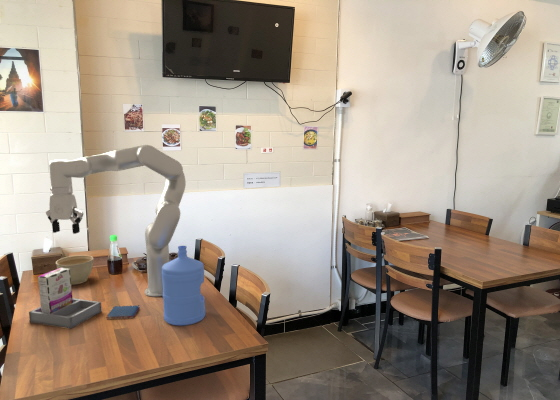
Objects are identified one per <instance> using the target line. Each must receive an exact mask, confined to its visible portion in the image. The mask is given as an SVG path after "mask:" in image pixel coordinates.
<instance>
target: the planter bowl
mask: <svg viewBox="0 0 560 400" xmlns="http://www.w3.org/2000/svg"><path fill="white" fill-rule="evenodd" d="M55 265H56V269H59V268H68V269H70V277H71V286H72V285H79V284H80V285H81V284H83V283H85V282H87V281H88V279H89V278H88V277H90V275H91V273H92V271H93V267H94V257H93V256H92V255H85V254H84V255H83V254H81V255H80V254H79V255H69V256H66V257H61V258H60V259H58V260H56V261H55Z"/></svg>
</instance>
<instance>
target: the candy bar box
mask: <svg viewBox="0 0 560 400" xmlns="http://www.w3.org/2000/svg"><path fill="white" fill-rule="evenodd" d="M37 281H38V282H37V284H38V291H39V302H40V307H41V312H42V313H48V314H51V313H53V312H55V311H57V310H59V309H61V308H63V307H65V306H67V305H70V304H72V303H73V299H72V298H73V290H72V285H71V277H70V269H68V268H59V269H57V268H56V269H55V270H51V271H48V272H46V273H43V274H41V275H38V276H37Z"/></svg>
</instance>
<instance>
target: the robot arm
mask: <svg viewBox="0 0 560 400" xmlns="http://www.w3.org/2000/svg"><path fill="white" fill-rule="evenodd" d="M143 166H145V167H146V168H148V169H150V170H151V171H153V172H155V173H157V174H158V175H160V176H162V177H164V178H165V184H164V188H163V191H162V194H161V197H160V199H159V200H158V202H157V205H156V207H155V214H156V215H155V218H154V220H153V222H151V223H149V224H148V225H147V227H146V228H145V231H144V233H145V234H144V238H145V248H146V269H147V288H146V289H144V294H145V295H146V296H148V297H156V298H157V297H163V280H162V266H163V265H164V264H166V263H168V262H170V248H169V247H170V246H169V244H170V242H171V240H172V238H173V236H174V234H175V232H176V229H177V226H178V224H179V221H180V219H181V210H180V204H181V202H182V199H183V196H184V193H185V190H186V182H187V181H186V177H185V173H184V171H183V170H184V169H183V165H182V163H180V162H179V161H178V160H176V159H175V158H173V157H171V156H169V155H168V154H166V153H165V152H162V151H161V150H160V149H158V148H156V147H155V146H152V145H149V144H143V145H142V144H141V145H137V146H133V147H127V148H122V149H116V150H113V151H112V150H111V151H109V152H105V153H101V154H96V155H91V156H84V157H80V158H77V159H72V160H68V159H54V160H50V161H49V163H48V167H49V178H50V187H51V188H50V192H51V194H50V196H49V209H48V210H47V211H45V215H46V216H47V218H48V220H49V222H50V224H51V228H52V233H53V234H56V233H57V232H60V231H61V227H60V222H59V220H61V221H62V220H66V221H67V220H69V221H71V223H72V224H71V228H72V234H73V235H75V234H78V233H80V230H81V228H80V223H81V221H82V220H83V217H84V212H83V211H81V210H80V209H78V204H77V199H76V196H75V194H74V191H73V190H74V189H73V180H72V179H73V178H77V179H78V178H79V179H82V178H84V179H85V178H86V177H88V176H90V175H93V174H98V173H105V172H119V171H125V170H129V169H134V168H141V167H143Z"/></svg>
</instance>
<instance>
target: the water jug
mask: <svg viewBox="0 0 560 400" xmlns="http://www.w3.org/2000/svg"><path fill="white" fill-rule="evenodd" d="M177 249H178V250H177V252H178V253H177V257H176V258H174V259H172V260H169V262H168V263H166V264H164V265H163V266H162V280H163V296H162V299H163V301H162V302H163V320H164V321H165V322H166V323H167V324H170V325H173V326H189V325H193V324H196V323H199V322H200V321H202V320H204V318H205V316H206V301H205V300H206V299H205V296H204V295H202V293H201V286H202V284H204V282H205V266H204V263H203V262H202V261H200V260H197V259H194V258H191V257H189V256H188V254H187V253H188V250H187V245H179V246H177Z"/></svg>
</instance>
